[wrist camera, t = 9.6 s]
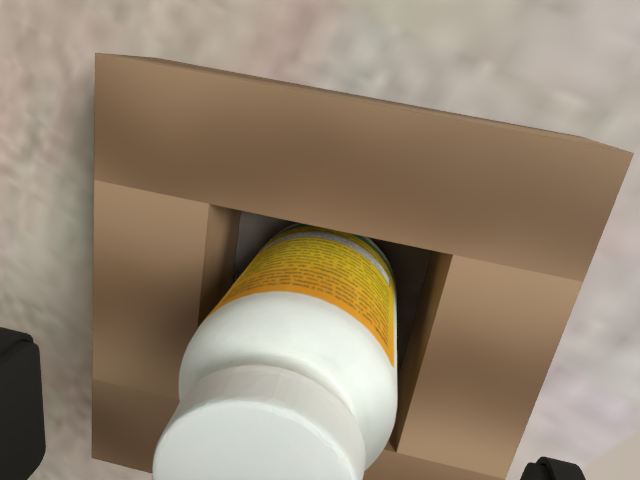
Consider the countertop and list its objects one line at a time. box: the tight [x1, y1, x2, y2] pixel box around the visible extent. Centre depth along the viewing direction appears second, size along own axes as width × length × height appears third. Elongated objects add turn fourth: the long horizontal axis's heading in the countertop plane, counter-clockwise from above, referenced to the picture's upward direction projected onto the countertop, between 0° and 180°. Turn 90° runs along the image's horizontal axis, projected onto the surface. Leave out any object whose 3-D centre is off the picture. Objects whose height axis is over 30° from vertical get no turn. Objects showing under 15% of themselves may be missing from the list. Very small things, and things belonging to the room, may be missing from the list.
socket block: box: [92, 53, 634, 480], centre depth 16 cm, size 14×14×4 cm
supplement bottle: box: [153, 223, 397, 480], centre depth 13 cm, size 5×5×10 cm
